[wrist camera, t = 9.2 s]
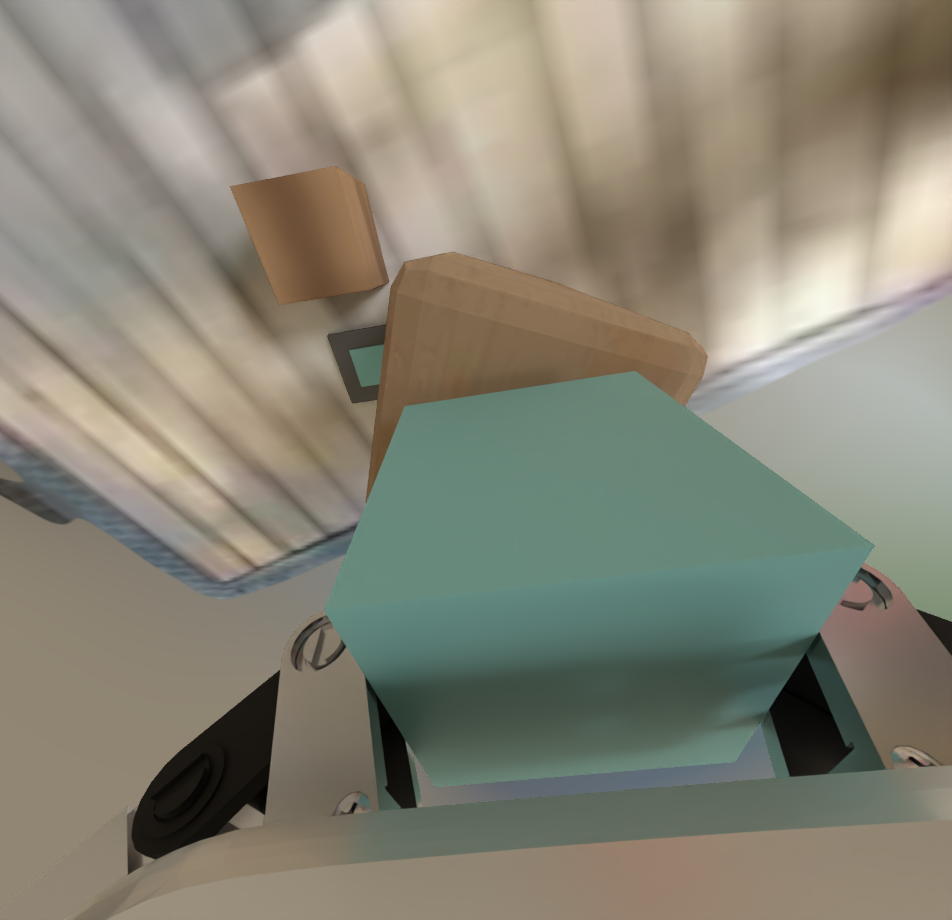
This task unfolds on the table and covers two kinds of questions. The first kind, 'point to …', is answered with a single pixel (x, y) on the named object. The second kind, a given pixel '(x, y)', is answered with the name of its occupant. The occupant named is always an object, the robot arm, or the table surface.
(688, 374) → the wooden block
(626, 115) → the table surface
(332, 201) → the walnut cube
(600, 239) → the table surface
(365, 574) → the teal cube
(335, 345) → the card
